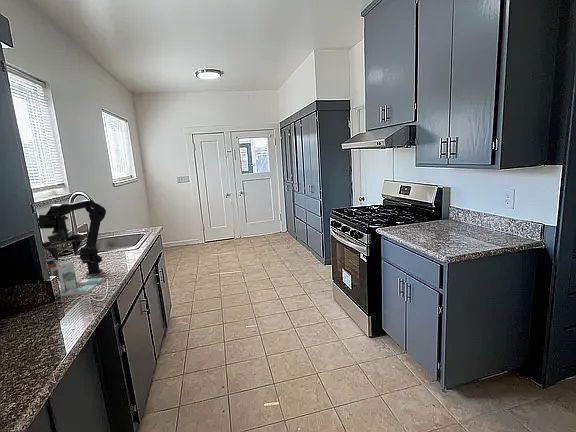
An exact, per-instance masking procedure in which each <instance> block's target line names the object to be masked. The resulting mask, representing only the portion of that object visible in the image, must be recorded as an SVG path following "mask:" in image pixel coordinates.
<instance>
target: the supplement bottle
mask: <svg viewBox="0 0 576 432" xmlns="http://www.w3.org/2000/svg"><path fill="white" fill-rule="evenodd" d="M46 260H47V264H48V269H49V272H50V276H57V277H58V279H59V274H58V269H57V262H55V259H54V258H49V259H46Z"/></svg>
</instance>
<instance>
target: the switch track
mask: <svg viewBox="0 0 576 432" xmlns="http://www.w3.org/2000/svg"><path fill="white" fill-rule="evenodd" d="M76 281H77V287H78V286H82V287H79V288H77V289H66V290H62V289H59V290H60V295H61V296H60V297H65V296H76V295H87V294H89V293H90V292H91V291H92V290H93V289H95V287H96V286H98V284H101V283H102V282H103V277H97V278H96V277H95V278H89V279H88V278H87V279H76Z"/></svg>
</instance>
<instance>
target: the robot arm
mask: <svg viewBox="0 0 576 432" xmlns="http://www.w3.org/2000/svg"><path fill="white" fill-rule="evenodd" d="M82 209H85V211H86V212H87V213H88V217H89V221H90V222H89V228H88V233H87V237H86V242H85V245H84V247H80V246H81V243H83V241H84V240H85V236H84V234H80V233H77V234H72V235H70V236H69V232H70V230H69V229H68V227H67V223H66V221H67V220H69V216H66V215H68V214H70V213H71V212H73V211H76V210H82ZM106 214H107V210H106V208H105V207H104V206H102V205H101V204H99V203H96V202H95V201H93V200H92V199H83V200H80V201H76V202H70V203H59V204H56V203H55V204H51V206H50V208H49V209H48V210H47V212H46V213H45V214H39V215H38V217H37V219H38V221H39V226H40V229H39V230H51V229H53V230H52V232H51V234H50V235H47V240H48V241H46V242H42V243H43V246H44V249H43V250H45V251H48V252H49V253H50V254H51V256H52V257H53V259H54V261H57V262H58V261H59V255H58V248H57V247H56V246H57V245H62V244H66V243H71V245H72V249H73V254H74V256H77V255H78V253H79V255H78V256H79V259H80V260H81V261H82V264H86V266H87V270H88V272H86V273H85V275H87V276H88V275H89V276H91V275H97V274H100V273H101V272H102V271H103V269H102V268H101V269H100V264H99V263H101V262H102V261H103V257H102V256H100V255H99V254H98V249H97V242H98V237H99V236H98V235H99V230H100V226H101V222H102V221H104V219H105V216H106ZM79 249H80V250H79Z"/></svg>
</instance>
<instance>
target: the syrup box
mask: <svg viewBox="0 0 576 432" xmlns="http://www.w3.org/2000/svg"><path fill="white" fill-rule="evenodd" d="M56 264H57V269H58V274H59V278H58V279H59V283H60V284H59V285H60V290H66V289H78V286H77V281H76V280H77V276H76V270H75V265H74V264H75V263H74V262H73V261H72V260H70V259H68V260H64V261H59V262H56Z"/></svg>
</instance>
